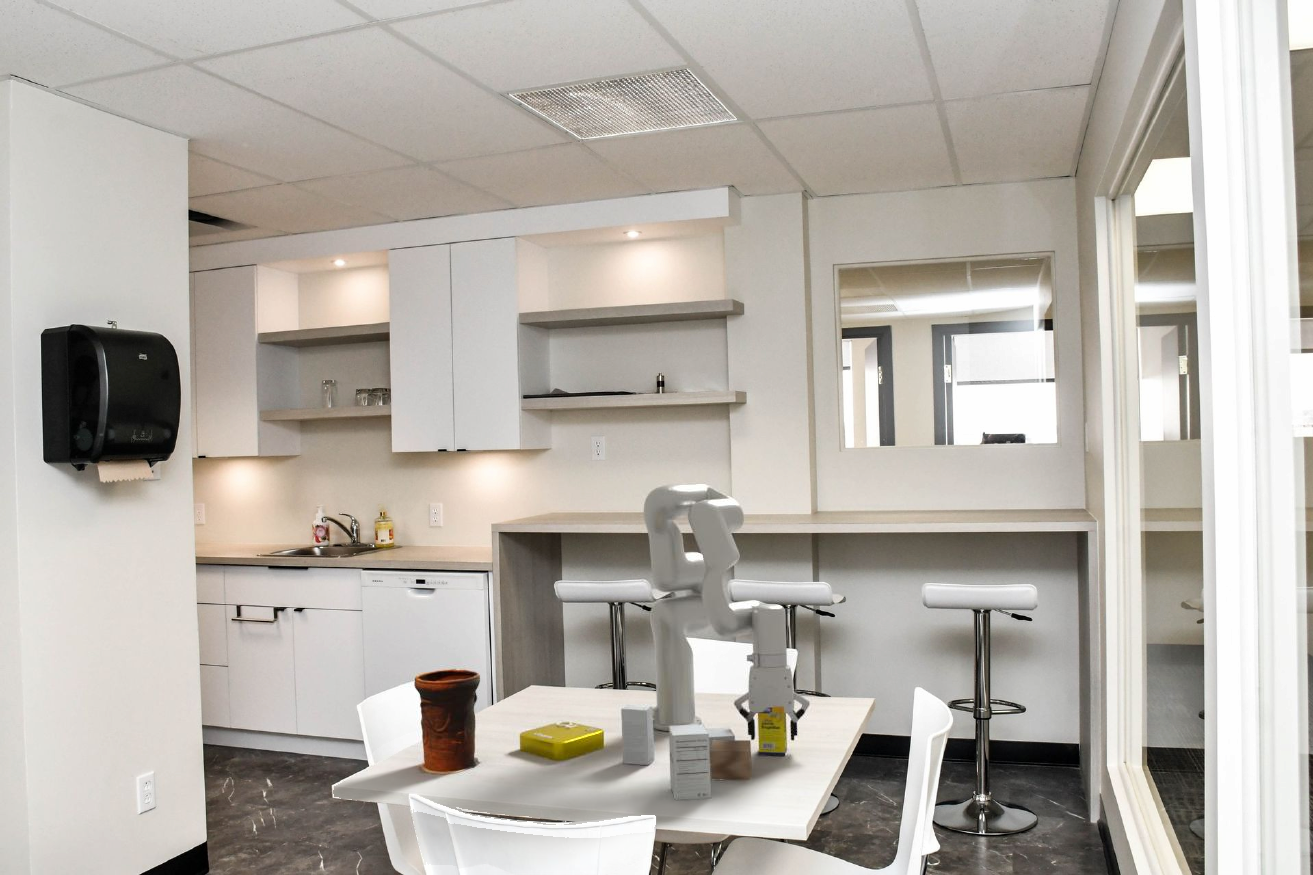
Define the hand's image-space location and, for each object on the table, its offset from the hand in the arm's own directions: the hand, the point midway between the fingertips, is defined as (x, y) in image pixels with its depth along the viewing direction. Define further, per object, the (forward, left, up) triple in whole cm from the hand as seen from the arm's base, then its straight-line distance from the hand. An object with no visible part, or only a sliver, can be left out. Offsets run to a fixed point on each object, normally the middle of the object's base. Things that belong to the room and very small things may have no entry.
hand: (772, 738), depth 223 cm
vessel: (-71, -13, -3) cm, 72 cm away
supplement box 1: (-15, -29, -3) cm, 33 cm away
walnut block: (-8, -16, -3) cm, 18 cm away
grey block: (-12, -6, -3) cm, 14 cm away
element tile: (-49, +1, -4) cm, 49 cm away
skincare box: (-29, -9, -3) cm, 31 cm away
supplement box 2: (0, 0, -3) cm, 3 cm away
